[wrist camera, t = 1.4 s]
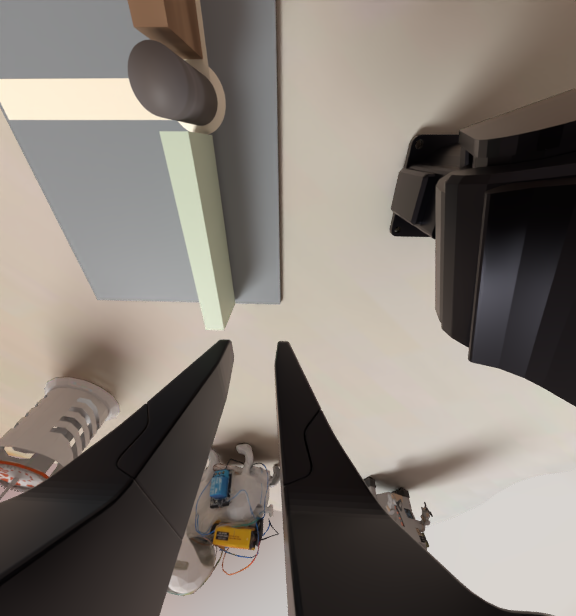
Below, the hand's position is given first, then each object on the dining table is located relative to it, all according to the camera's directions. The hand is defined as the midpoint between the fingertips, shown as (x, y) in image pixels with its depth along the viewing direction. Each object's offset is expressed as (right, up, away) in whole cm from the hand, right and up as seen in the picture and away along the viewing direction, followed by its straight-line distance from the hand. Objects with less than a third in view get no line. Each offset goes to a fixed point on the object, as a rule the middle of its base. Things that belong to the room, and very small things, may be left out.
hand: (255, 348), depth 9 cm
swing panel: (-5, +8, +10) cm, 13 cm away
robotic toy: (-9, -25, +33) cm, 42 cm away
